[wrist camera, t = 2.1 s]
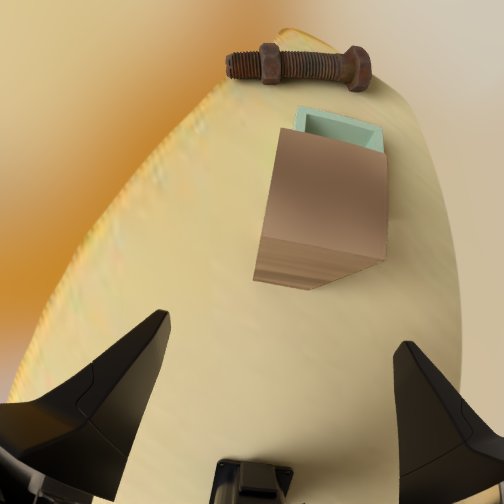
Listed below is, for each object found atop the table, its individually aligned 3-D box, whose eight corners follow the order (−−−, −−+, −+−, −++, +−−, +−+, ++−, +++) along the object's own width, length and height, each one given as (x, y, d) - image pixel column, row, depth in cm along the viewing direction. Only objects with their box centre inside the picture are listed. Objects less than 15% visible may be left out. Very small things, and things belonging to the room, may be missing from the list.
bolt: (229, 85, 28) (352, 87, 28) (227, 96, 25) (368, 99, 25) (225, 40, 24) (356, 44, 24) (223, 43, 21) (374, 50, 20)
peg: (308, 290, 22) (385, 260, 9) (252, 280, 22) (261, 236, 9) (315, 236, 23) (386, 154, 10) (262, 226, 23) (280, 127, 10)
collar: (370, 217, 23) (385, 205, 20) (282, 198, 23) (287, 182, 20) (370, 144, 25) (382, 127, 22) (293, 125, 25) (298, 105, 22)
